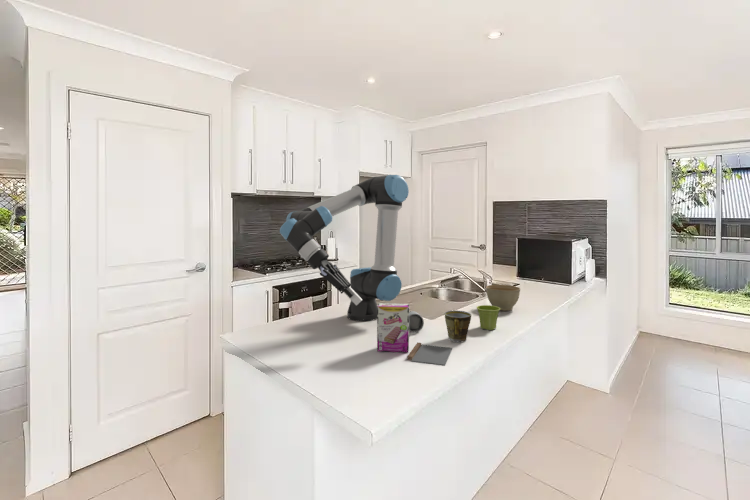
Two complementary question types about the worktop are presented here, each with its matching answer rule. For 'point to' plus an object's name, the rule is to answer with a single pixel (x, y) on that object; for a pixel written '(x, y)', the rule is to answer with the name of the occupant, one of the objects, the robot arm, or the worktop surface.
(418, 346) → the strip
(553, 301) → the worktop surface
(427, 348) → the mat
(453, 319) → the ceramic cup
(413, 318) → the ceramic mug
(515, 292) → the planter bowl
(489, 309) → the plant pot
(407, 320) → the candy bar box
